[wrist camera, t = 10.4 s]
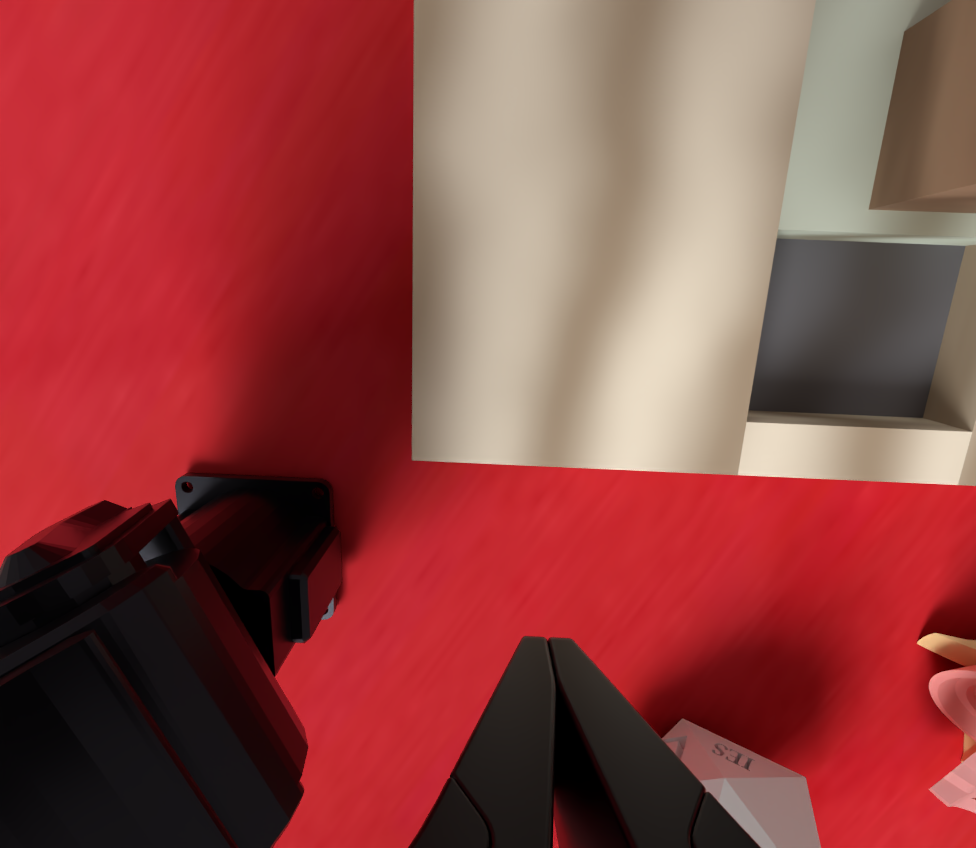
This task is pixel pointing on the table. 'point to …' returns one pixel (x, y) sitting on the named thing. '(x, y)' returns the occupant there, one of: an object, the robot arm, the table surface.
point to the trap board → (680, 245)
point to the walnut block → (932, 118)
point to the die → (749, 787)
